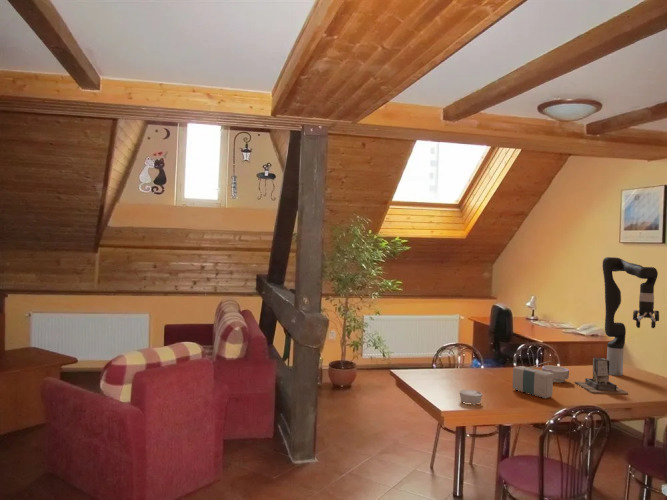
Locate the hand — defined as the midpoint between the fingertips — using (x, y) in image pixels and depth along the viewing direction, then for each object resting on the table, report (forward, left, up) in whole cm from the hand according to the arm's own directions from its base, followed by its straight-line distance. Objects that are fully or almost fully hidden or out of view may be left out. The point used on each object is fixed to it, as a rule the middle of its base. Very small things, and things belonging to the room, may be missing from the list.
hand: (645, 327), depth 318 cm
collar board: (+11, -31, -34) cm, 47 cm away
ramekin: (+46, -114, -34) cm, 128 cm away
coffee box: (+11, -31, -33) cm, 47 cm away
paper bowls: (-4, -51, -34) cm, 62 cm away
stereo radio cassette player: (+26, -75, -34) cm, 87 cm away
